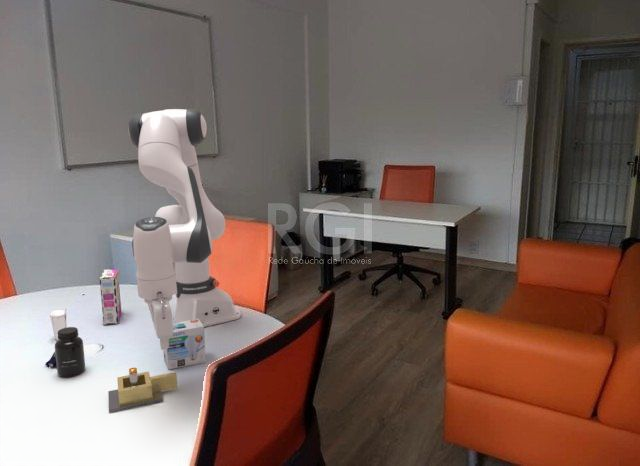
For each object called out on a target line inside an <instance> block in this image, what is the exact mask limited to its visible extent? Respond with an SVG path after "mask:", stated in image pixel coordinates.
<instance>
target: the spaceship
mask: <svg viewBox="0 0 640 466" xmlns="http://www.w3.org/2000/svg"><path fill="white" fill-rule="evenodd" d="M44 364H45V365H44V366H47V368H48V369H49V368H51V369H53V367H54V366H53V365H55V364H56V355H55V351H54V352H53V354H52V355H51V356H50V358H49V359H48V361H46V362H45V363H44Z"/></svg>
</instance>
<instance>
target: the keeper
mask: <svg viewBox="0 0 640 466" xmlns="http://www.w3.org/2000/svg"><path fill="white" fill-rule="evenodd" d="M128 373H129V374H128V375H129V376H130V387H133V386H138V376H137V374H138V368H137V367H130V368H129V369H128ZM107 395H108V396H107V397H108V413H109V414H111V413H115V412H117V413H118V412H120V411H125V410H131V409H135V408H140V407H144V406H148V405H153V404H159V403H163V402H164V398H163V391H159V392H154V393H152V397H153V399H150V400H146V401H141V402H136V403H131V404H126V405H121V406H120V405H119V395H118V388H117V389H113V390H108V392H107Z"/></svg>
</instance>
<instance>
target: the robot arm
mask: <svg viewBox="0 0 640 466" xmlns="http://www.w3.org/2000/svg"><path fill="white" fill-rule="evenodd" d="M207 126H208V125H207V121H206V119H205V117H204V115H203V113H202V112H201V111H200V110H198V109H196V108H195V109H194V108H187V109H181V108H169V109H167V108H166V109H163V110H156V111H150V112H139V113H137V114H136V113H135V114H133V115H132V116H131V118H130V119H129V121H128V135H129V139H130V141H131V142H132V145H134V146H135V147H136V148H137V151H138V152H137V154H138V155H137V156H138V157H137V158H138V167H139V168H138V169H139V171H140V173H141V174H142V175H143V177H144V178H145V179H147V180H148V181H149V182H150V183H152V184H155V185H156V186H158V187H162V188H165V189H166V191H167V193H168V195H170V196H172V198H174V199H175V201H176V202H177V203H178V204H172V205H170V204H169V205H165V206H162V207H159V209H157V211H156V213H155V215H154V216H149V217H145V218H141V219H139V220H138V221H136V222H135V224H134V227H133V237H132V241H131V245H132V246H131V247H132V254H133V255H132V256H133V258H134V261H135V264H136V274H135V277H136V285H137V295H138V297H139V298H140V299H143V300H144V302H145V304H147V305H148V306H147V307H148V310H149V313H150V316H151V320H152V323H153V327H154V331H155V336H156V338H157V339H159V344H160V345H159V346H160V348H161V349H160V350H162V351H164V349H168V348H169V337H171V336H173V323H177V322H183V321H188V320H194V319H199V320H200V322H201V323H202V325H203V326H204V328H207V327H209V326H210V327H211V326H214V325H219V324H223V323H227V322H232V321H234V320H235V321H236V320H239V319H240V318H241V316H242V314H241V313H242V312H241V310H240V308H239V307H238V306H237V305H235V304H234V301H233V299H232V297H231V296H230V294H229V293H228V292H226V291H224V290H222V289H221V288H219V286H220V284H221V283H220V282H219V280H218V279H216V278H215V277H214V276H212V275H211V274H210V273H211V272H210V261H209V260H210V258H209V257H210V256H211V254H212V252H213V251H212V250H213V245H214V243H213V241H214V240H219V239H220V238H221V237H222V236H223V234H224V232H225V230H226V224H227V223H226V218H225V216H224V214H223V213H222V212H221V211H220V210H219V209H217V207H215V206H214V205H213V203H212V202H211V201H210V199H209V197H208V195H207V194H206V192H205V190H204V187H203V184H202V179H201V174H200V173H201V172H200V168H199V162H198V155H197V152H196V148H197V146H198V145H200V144H202V143H203V142H204V140H205V139H206V135H207V130H208V129H207V128H208V127H207ZM173 295H175V297H176V305H175V312H174V313H175V314H174V318H173V314H172V307H171V304H170V301H171V300H172V299H173Z"/></svg>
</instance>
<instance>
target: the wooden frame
mask: <svg viewBox="0 0 640 466" xmlns="http://www.w3.org/2000/svg"><path fill="white" fill-rule="evenodd" d="M137 376H138V386H133V387H130V376H129V374H128V375H123V376H117V378H116V379H117V389H118V395H119V405H120V406H121V405H126V404H131V403H136V402H141V401H146V400H150V399H153V397H152V393H154V392H159V391H161V392H163V391H168V390H174V389H178V388H179V387H178V376H177V372H176V371H174V372H169V373H164V374H159V375H158V374H157V375H152V376H151V375H150V372H149V371H144V372H140V373H138V372H137Z"/></svg>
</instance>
